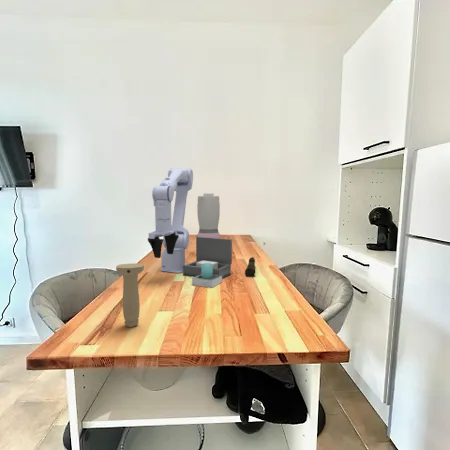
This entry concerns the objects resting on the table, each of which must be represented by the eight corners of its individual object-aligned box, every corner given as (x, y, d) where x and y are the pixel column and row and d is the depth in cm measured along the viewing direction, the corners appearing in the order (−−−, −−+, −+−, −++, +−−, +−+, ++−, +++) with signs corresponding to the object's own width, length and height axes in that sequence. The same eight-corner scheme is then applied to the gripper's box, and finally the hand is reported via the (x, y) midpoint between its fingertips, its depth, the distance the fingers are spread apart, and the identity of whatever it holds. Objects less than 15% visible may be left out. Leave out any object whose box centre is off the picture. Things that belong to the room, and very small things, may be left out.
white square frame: (192, 284, 114) (192, 278, 114) (203, 279, 121) (203, 273, 121) (211, 287, 110) (211, 280, 110) (222, 282, 117) (222, 275, 117)
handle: (120, 321, 81) (118, 263, 80) (146, 320, 82) (144, 263, 81) (116, 330, 77) (114, 268, 75) (143, 328, 77) (142, 267, 76)
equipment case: (183, 275, 127) (182, 240, 125) (197, 269, 136) (197, 236, 135) (219, 280, 120) (219, 243, 118) (231, 273, 129) (231, 239, 128)
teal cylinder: (199, 284, 115) (199, 265, 114) (204, 281, 118) (204, 262, 118) (209, 285, 113) (209, 266, 112) (214, 282, 117) (214, 263, 116)
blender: (211, 259, 157) (211, 193, 154) (191, 256, 164) (191, 193, 161) (228, 254, 171) (228, 193, 167) (209, 251, 177) (209, 193, 174)
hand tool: (255, 278, 124) (255, 266, 124) (244, 277, 125) (245, 265, 124) (258, 267, 143) (258, 256, 142) (249, 266, 143) (249, 256, 143)
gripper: (159, 221, 108) (160, 260, 110) (183, 217, 121) (184, 253, 123) (143, 220, 112) (144, 258, 113) (168, 217, 124) (168, 251, 126)
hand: (164, 255), depth 118 cm, fingers open, 7 cm apart
